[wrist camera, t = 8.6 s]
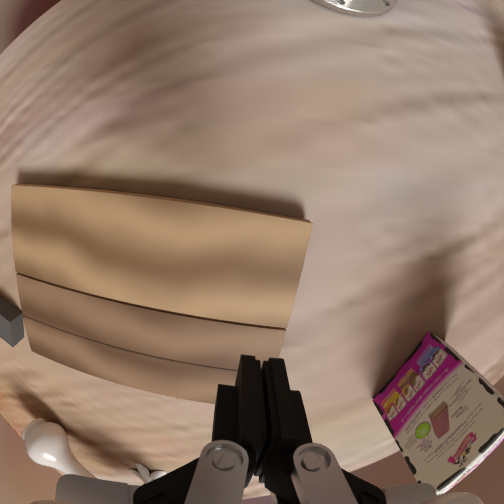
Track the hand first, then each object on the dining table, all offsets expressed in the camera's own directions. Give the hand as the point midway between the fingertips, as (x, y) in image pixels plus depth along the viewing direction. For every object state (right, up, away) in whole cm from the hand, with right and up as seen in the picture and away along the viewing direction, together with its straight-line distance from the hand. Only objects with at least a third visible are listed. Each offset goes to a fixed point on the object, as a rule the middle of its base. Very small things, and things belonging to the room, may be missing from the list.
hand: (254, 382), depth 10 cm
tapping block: (-32, -2, +13) cm, 35 cm away
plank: (-10, +6, +11) cm, 16 cm away
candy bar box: (+19, -9, +17) cm, 27 cm away
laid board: (-12, -4, +14) cm, 19 cm away
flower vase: (-24, -28, +20) cm, 42 cm away
